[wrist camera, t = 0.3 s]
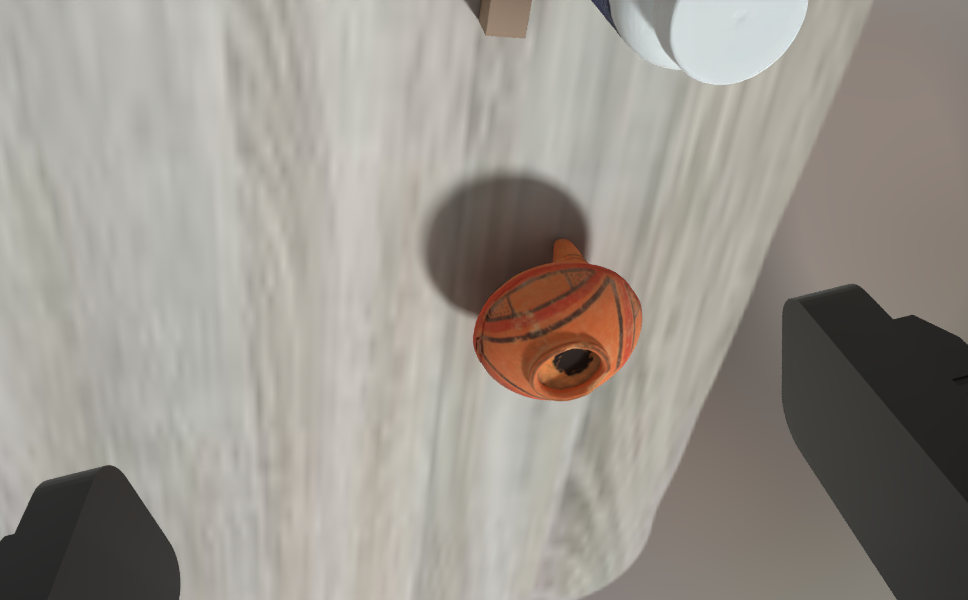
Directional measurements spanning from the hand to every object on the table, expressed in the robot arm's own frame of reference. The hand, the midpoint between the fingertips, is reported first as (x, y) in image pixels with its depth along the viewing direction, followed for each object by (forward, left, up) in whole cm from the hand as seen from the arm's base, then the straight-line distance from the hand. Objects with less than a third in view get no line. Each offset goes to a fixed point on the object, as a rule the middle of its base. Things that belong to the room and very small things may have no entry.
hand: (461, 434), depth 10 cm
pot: (+16, +10, -24) cm, 30 cm away
